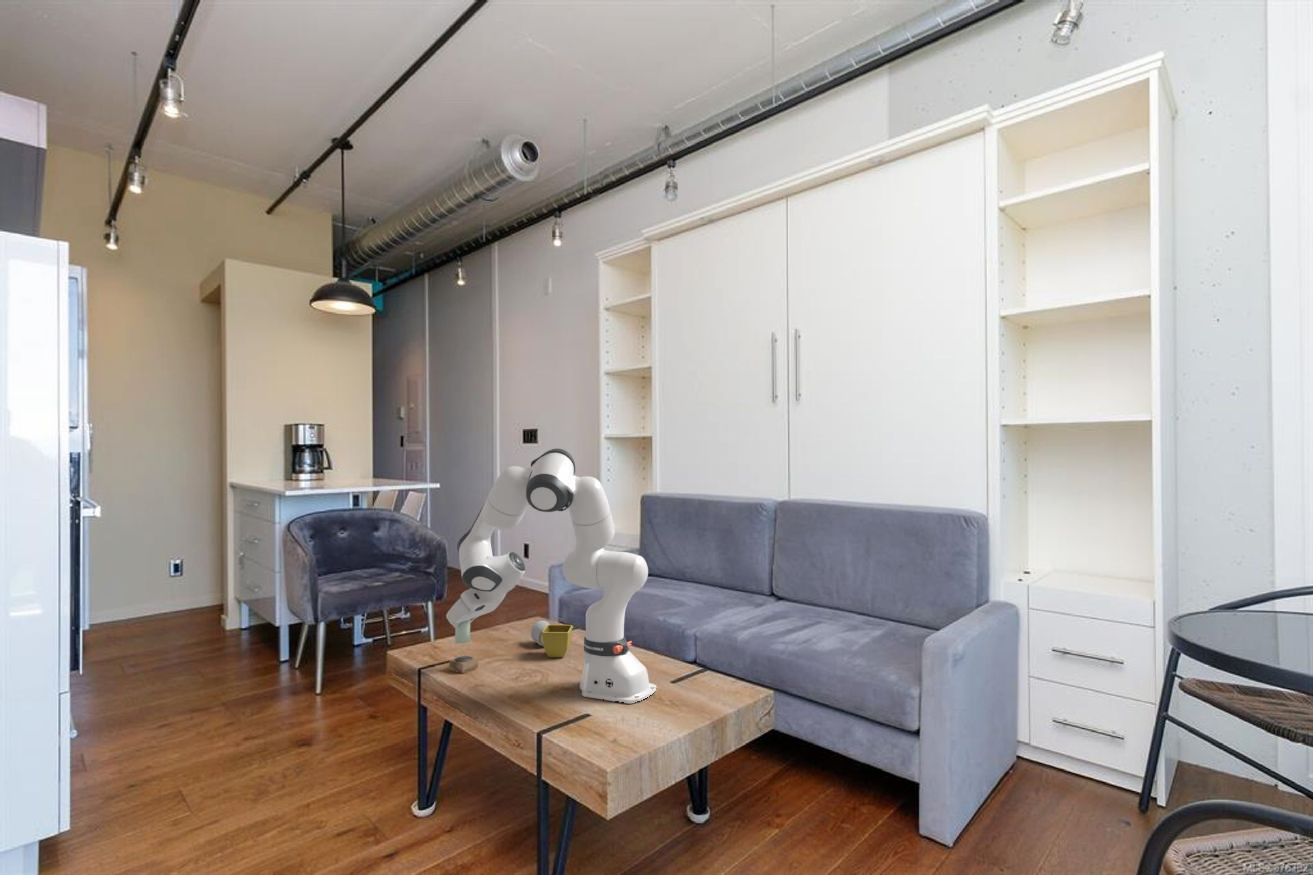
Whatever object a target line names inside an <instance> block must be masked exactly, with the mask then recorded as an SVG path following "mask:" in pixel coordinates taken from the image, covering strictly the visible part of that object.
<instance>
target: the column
mask: <svg viewBox="0 0 1313 875" xmlns="http://www.w3.org/2000/svg"><path fill="white" fill-rule="evenodd" d="M454 629H455V630H454V633H455V634H454V642H455V643H456V644H467V643H470V641H471V623H470V619H469V620H466V621H463V622H461V625H460V626H459V627H457V628H454Z"/></svg>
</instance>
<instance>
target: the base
mask: <svg viewBox="0 0 1313 875" xmlns="http://www.w3.org/2000/svg"><path fill="white" fill-rule="evenodd" d="M448 667H449V669H450V670H449V669H448V670H449V671H451V670H453V671H452V672H454V671H457V672H456V673H458V672H460V673H459V674H462V673H463V674H466V673H468V672H467V671H469V672H471V670H472V671H474V670H476V668H477V669H479V658H477V657H473V656H469V655H467V654H466V655H465V654H464V655H461V656H458V657H455V658H453V659H450V660H449V666H448ZM473 669H474V670H473ZM465 672H466V673H465Z"/></svg>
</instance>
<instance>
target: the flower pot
mask: <svg viewBox="0 0 1313 875" xmlns="http://www.w3.org/2000/svg"><path fill="white" fill-rule="evenodd" d="M572 633H573V625H572V624H550V625H547V626H546V627H545V629H544V630H543V632H542V636H543V645H544V647H543V649H544V653H545V654H546V655H547V657H548V658H561V657H562V658H565V655H566V654H567V652H568V650H569V647H570V644H571V640H572Z"/></svg>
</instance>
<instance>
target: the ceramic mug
mask: <svg viewBox="0 0 1313 875" xmlns="http://www.w3.org/2000/svg"><path fill="white" fill-rule="evenodd" d="M547 625H551V624H550V622H548V621H546V620H538V621H536V622H535V623H534V624H533V625H532V627H531V629H530V630H531V631H530V636H531V639H532V640H533V641H534V642H536V643H537V644H538V645H539V646H540V647H543V648H544V645H543V636H542V632H543V630H544V629H545V627H546V626H547Z"/></svg>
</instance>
